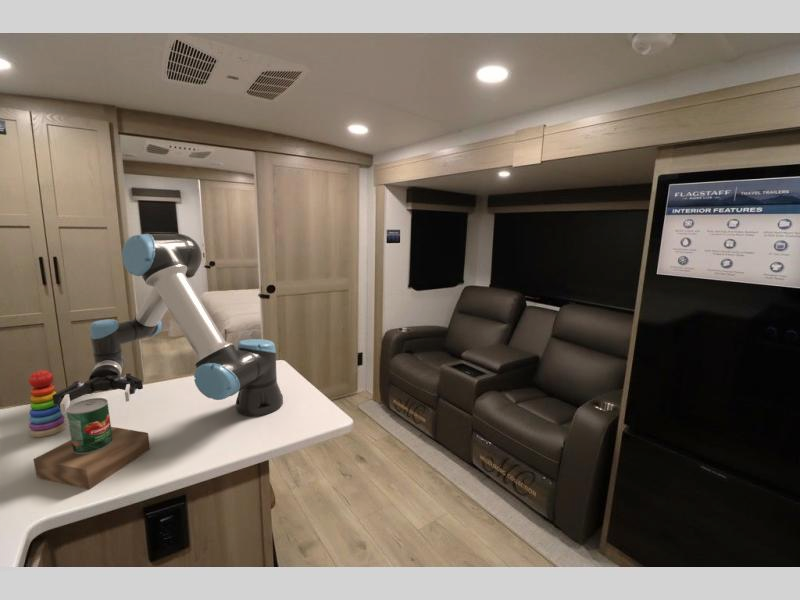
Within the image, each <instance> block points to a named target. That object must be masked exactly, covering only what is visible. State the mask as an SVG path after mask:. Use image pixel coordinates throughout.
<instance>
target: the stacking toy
mask: <svg viewBox="0 0 800 600" xmlns="http://www.w3.org/2000/svg"><path fill="white" fill-rule="evenodd" d="M54 378H55V377H54V374H53V373H52V372H50V371H48V370H44V369H42V370H37V371H35V372H33V373H32V374H31V375H30V376H29V378H28V383H29V384H30V386H31V387H32V388H31V390H30V395H31V396H30V401H31V403H30V408H31V409H30V410H29V415H30V416H29V419H28V420H29V422H30V423H29V424H28V427H29V431H28V435H29V436H31V437H33V438H43V437H44V438H45V437H49V436H52V435H55V434H58V433H60V432H61V431H63V430H64V429H65V428H66V426H67V422H66V421H65V415H63V414H62V413H61V407H59V405H58V404H54V403H53V397H52V395H54V394H56V393H57V392H56V391H55V389H56V387H55V385H53V384H52V383H53V382H54Z"/></svg>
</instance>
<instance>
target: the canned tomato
mask: <svg viewBox="0 0 800 600" xmlns="http://www.w3.org/2000/svg"><path fill="white" fill-rule="evenodd" d="M109 409H110V408H109V403H108V399H106V398H103V397H93V398H87V399H84V400H80V401H78V402H75V403H73V404H70V405H69V407H68V408H67V410H66V415H67V421H68V422H67V423H68V428H69V433H70V440H71V441H72V446H73V452H74V453H76V454H89V453H93V452H96V451H99V450H102V449H104V448H106V447H107V446H109V445H110V444H111V443H112V441H113V438H112V430H111V427H112V424H111V417H110V410H109Z"/></svg>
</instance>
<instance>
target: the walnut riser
mask: <svg viewBox="0 0 800 600" xmlns="http://www.w3.org/2000/svg"><path fill="white" fill-rule="evenodd" d="M111 430H112V438H113V441H112V443H111V444H110V445H109V446H107V447H106V448H104V449H102V450H99V451H96V452H93V453H89V454H76V453H74V452H73V446H72V441H71V439H70V440H68V441H65V442H64V443H62V444H61V445H58V446H57V447H54V448H53V449H51V450H49V451H47V452H45V453H43V454H41V455H39V456H37V457H34V458H33V464H34V469H35V474H36V478H37V479H42V480H46V481H50V482H56V483H59V484H63V485H68V486H74V487H79V488H83V489H87V490H91V489H93V488H94V487H96V486H97V485H98V484H100V483H102V482H103V481H104V480H107V479H108V478H109V477H111V476H112V475H114V474H115V473H117V472H118V471H119V470H121V469H122V468H124V467H127V465H128V464H130V463H132V462H133V461H135V460H136V459H138V458H140V457H141V456H143V455H144V454H146V453H147V452H149V451H150V449H151V447H150V437H149V433H148V432H145V431H144V432H143V431H138V430H133V429H127V428H123V427H122V428H121V427H116V426H111Z"/></svg>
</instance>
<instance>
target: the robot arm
mask: <svg viewBox="0 0 800 600" xmlns="http://www.w3.org/2000/svg"><path fill="white" fill-rule="evenodd" d="M202 256H203V254H202V249H201V248H200V245H199V244H198V243H197V242H196V241H195V240H194V239H193V238H191V236H188V235H186V234H181V233H161V234H160V233H159V234H158V233H154V234H153V233H152V234H150V233H144V234H135V235H132V236H130V237H128V239H127V240H126V241H125V243H124V245H123V247H122V253H121V257H122V258H121V259H122V263H123V266H124V268H125V270H126V271H127V272H128V273H129V274H130V275H133V276H136V277H141V278H142V279H143V280H144V282H145V284H146V285H147V286H150V287H152V288H151V290H150V291H149V293H148V294H147V297H146V298H145V300H144V301H143V303H142V305H141V306H140V308H139V310H138V311H137V313H136V314H135V316H134V317H133V319H132V320H131V319H130V320H127V321H122V322H118V320H117V319H111V318H110V319H100V320H96V321H93V322H92V323H91V324H90V325H89V334H90V335H89V336H90V337H89V338H90V340H91V345H92V352H93V361H94V367H93V369H92V371H91V373H90V375H89V377H88V380H87V381H85V382H83V383H81V382H80V381H78V380H76V381H74V382H73V383H72V384H71V385H69V386H67V387H66V388H63V389H62V390H60V391H58V392H56V394H54V395H52V397H53V403H54V404H58V405H59V407H60V409H61V413H62V415H63V414H67V411H66V410H67V408H68V407H69V406H71V402H72V401H74V400H76V399H78V398H80V397H83V396H85V395H91V394H93V393H95V392H99V391H100V392H106V391H110V390H122V391H124V397H125V402H130V400H131V399H130V398H131V395H133V394H135V392H136V391H137V390H143V389H144V385H143V380H142V379H140V378H137V377H135V376H133V375H132V374H131V373H126V374H125V375H124V376H122V377H121V375H122V371H123V368H124V366H125V358H124V356H123V352H122V351H123V350H122V345H126V344H129V343H131V342H136V341H140V340H143V339H146V338H151V337H153V336H155V335H157V334H159V333H161V331H162V326H163V325H162V318H163V317H164V316H165V314H166V312H167V311H169V312H170V314H171V316H172V318H173V319H174V321H175V322H176V324H177V326H178V327H179V329H180V331H181V332H182V334H183V336H184V337H185V339H186V341H187V342H188V344H189V346H190V347H191V349H192V351H193V353H194V354H195V356H196V359H195V362H194V366H195V367H196V370H195V371H194V375H193V377H194V384H195V386H196V388H197V390H198V391H199V392H200V393H201V394H202V395H203V396H205V397H206V398H207V399H212V400H215V401H221V400H225V399H227V398H230V397H232V396H234V395H236V394H237V397H236V400H235V411H236V412H237V413H238V414H241V416H247V417H257V416H263V415H269V414H272V413H273V412H275V411H277V410H279V409H280V408H281V407H282V406H283V404H284V396H283V394H282V391H281V389H280V387H279V386H280V385H279V383H278V380H277V379H278V377H277V356H276V355H277V350H276V344H275V343H274V342H273V341H272V340H268V339H260V338H259V339H258V338H257V339H254V338H252V339H251V338H250V339H245V340H240V341H238V342H237V346H236V347H235V345H234V343H232V342H229V341H228V342H227V341H226V340H225V339H224V337H223V335H222V333H221V332H220V329H218V327H217V326H216V324H215V322H214V321H213V319H212V317H211V315H210V313H209V312H208V310H207V308H206V306H204V303H203V301H202V300H201V299H200V297H199V295H198V294H197V292H196V290H195V289H194V287H193V285H192V284H191V282H190V280H189V279H191V278H193V277H194V276H195V274H196V273H197V272H198V271H199V268H200V266H201V263H202Z"/></svg>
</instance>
